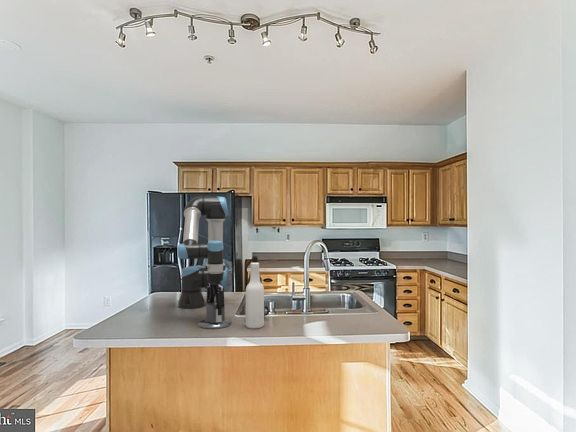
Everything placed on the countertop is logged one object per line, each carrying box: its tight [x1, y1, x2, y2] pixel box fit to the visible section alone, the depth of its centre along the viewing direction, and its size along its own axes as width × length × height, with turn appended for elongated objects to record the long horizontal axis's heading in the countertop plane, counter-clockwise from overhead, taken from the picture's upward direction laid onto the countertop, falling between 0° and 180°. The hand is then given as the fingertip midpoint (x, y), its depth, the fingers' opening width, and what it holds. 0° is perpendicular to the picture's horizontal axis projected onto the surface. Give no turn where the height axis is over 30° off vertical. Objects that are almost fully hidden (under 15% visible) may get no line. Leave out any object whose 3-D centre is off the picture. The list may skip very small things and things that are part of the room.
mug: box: [264, 300, 270, 320], centre depth 187 cm, size 9×12×9 cm
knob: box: [205, 301, 226, 323], centre depth 178 cm, size 6×6×9 cm
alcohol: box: [245, 262, 265, 330], centre depth 175 cm, size 9×9×30 cm
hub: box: [197, 317, 233, 330], centre depth 178 cm, size 16×16×7 cm
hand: (215, 320), depth 178 cm, fingers closed on knob, 6 cm apart
